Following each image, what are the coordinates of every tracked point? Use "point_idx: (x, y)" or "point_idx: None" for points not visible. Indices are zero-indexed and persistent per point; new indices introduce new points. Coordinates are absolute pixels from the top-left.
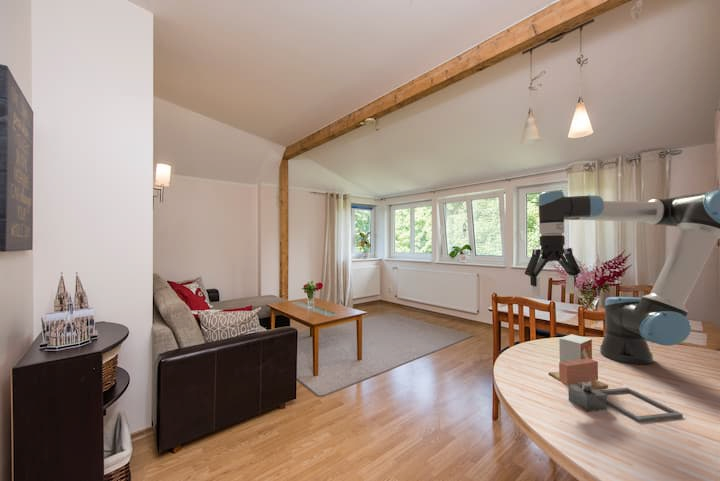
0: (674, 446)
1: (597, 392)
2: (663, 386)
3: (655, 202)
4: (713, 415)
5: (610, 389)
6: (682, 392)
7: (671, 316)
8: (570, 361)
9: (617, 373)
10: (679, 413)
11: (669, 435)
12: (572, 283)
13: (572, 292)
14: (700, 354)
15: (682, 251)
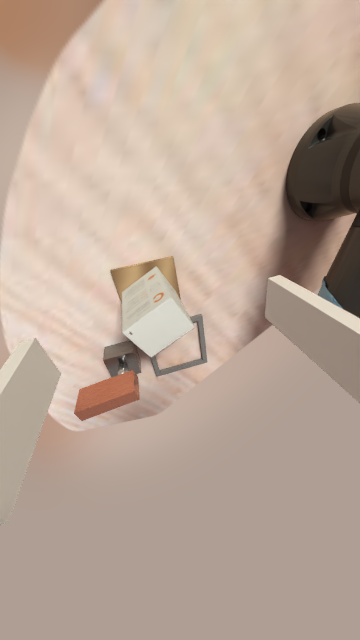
0: (158, 396)
1: (133, 369)
2: (256, 298)
3: None
4: (237, 352)
5: None
6: (261, 311)
7: None
8: (95, 406)
9: (235, 259)
10: (205, 361)
11: (167, 385)
12: (307, 355)
13: (269, 320)
14: None
15: None
